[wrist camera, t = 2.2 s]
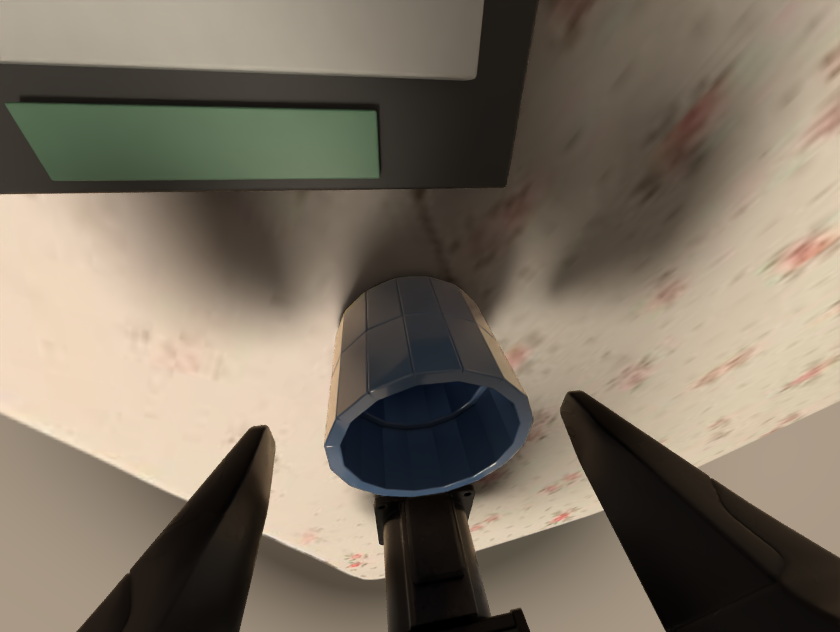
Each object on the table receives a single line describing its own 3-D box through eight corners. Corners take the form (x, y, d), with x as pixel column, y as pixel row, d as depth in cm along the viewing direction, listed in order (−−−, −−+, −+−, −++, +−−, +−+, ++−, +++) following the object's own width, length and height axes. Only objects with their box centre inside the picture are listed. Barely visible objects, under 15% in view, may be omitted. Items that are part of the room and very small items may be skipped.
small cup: (469, 375, 14) (510, 483, 10) (346, 387, 14) (340, 508, 10) (487, 265, 11) (557, 360, 7) (327, 273, 10) (306, 384, 6)
